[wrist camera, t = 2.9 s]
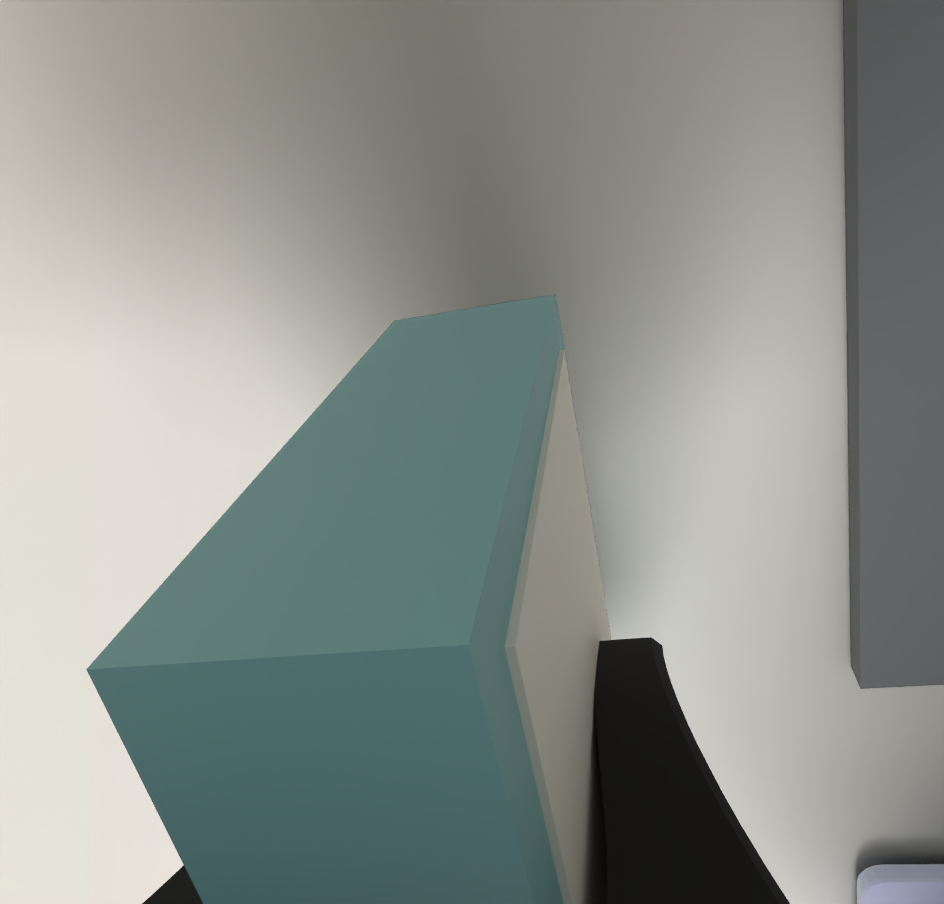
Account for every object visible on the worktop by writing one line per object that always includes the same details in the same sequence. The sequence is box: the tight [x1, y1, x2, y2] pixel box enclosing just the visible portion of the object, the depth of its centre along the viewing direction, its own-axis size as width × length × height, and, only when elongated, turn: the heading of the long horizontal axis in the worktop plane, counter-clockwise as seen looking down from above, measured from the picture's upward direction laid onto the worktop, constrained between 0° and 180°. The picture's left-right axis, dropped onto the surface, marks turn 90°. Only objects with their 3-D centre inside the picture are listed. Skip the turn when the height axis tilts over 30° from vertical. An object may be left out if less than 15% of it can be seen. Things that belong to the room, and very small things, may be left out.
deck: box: [87, 294, 611, 904], centre depth 8 cm, size 9×2×6 cm, turn 12°
